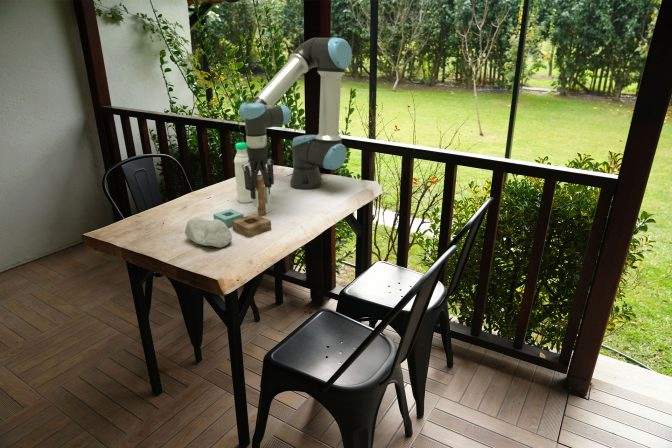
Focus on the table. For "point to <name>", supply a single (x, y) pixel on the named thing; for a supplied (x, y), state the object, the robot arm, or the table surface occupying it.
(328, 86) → the robot arm
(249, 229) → the brown square socket block
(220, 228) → the decorative stone
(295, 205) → the table surface
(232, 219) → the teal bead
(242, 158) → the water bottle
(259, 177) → the brown wooden square peg
